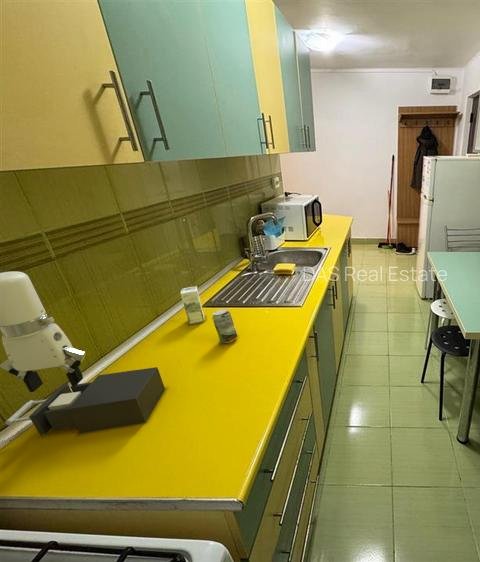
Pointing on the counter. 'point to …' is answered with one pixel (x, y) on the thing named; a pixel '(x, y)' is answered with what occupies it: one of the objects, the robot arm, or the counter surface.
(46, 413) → the dark grey drawer
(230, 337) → the beverage can
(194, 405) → the counter surface
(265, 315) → the counter surface
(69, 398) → the block
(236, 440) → the counter surface
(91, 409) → the dark grey drawer box
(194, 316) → the syrup box
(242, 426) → the counter surface
